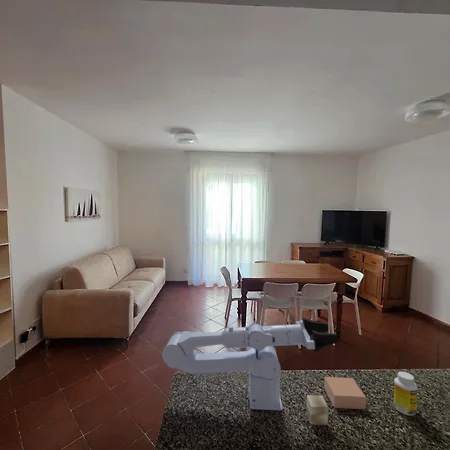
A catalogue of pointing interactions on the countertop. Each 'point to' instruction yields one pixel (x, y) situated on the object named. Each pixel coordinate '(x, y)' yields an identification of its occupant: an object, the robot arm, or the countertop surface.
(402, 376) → the supplement bottle
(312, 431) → the countertop surface
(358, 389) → the terracotta box
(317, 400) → the metal block
